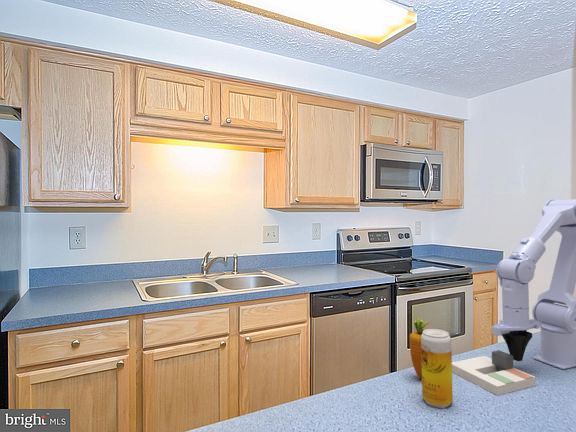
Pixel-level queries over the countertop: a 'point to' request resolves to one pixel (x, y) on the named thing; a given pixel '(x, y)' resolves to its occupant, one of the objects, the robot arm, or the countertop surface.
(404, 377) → the countertop surface
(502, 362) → the switch handle
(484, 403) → the countertop surface
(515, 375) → the switch board
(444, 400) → the beer can
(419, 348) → the carrot
